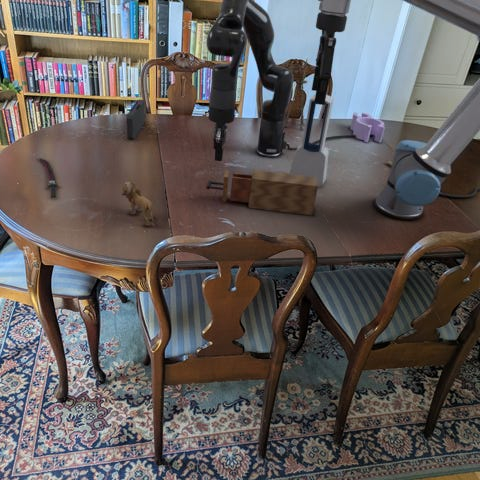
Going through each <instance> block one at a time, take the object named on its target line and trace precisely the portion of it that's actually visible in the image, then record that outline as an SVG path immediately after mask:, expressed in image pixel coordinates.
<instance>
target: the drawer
mask: <svg viewBox="0 0 480 480" xmlns="http://www.w3.org/2000/svg"><path fill="white" fill-rule="evenodd" d="M229 180H230V170H229V169H226V170H225V172H224V175H223V182H218V181H212V180H211V179H210V180H209V179H208V181H207V184H206V187H205V188H206V190H211V189H212V190H220V191H222V197H221V202H227V198H228V192H229V182H230V181H229ZM251 181H252V174H251V173H250V174H249V173H241V172H233V173H232V176H231V183H230V184H231V186H230V195H229V196H230V198H229V201H233V202H240V203H241V202H242V203H248V204H249V198H250V189H251ZM213 185H217V186H213ZM219 185H220V186H219Z"/></svg>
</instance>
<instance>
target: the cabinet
mask: <svg viewBox="0 0 480 480" xmlns="http://www.w3.org/2000/svg"><path fill="white" fill-rule="evenodd" d="M251 175H252V181H251V189H250V198H249V203H248V209H249V208H250V209H255V210H256V209H257V210H265V211H274V212H280V213H281V212H282V213H290V214H298V215H306V216H307V215H308V216H313V213H314V208H315V203H316V198H317V193H318V189H319V187H318V183H317V177H308V176H300V175H291V174H289V173H282V172H274V171H265V170H256V169H253V170H252V174H251Z"/></svg>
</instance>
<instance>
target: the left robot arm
mask: <svg viewBox="0 0 480 480" xmlns="http://www.w3.org/2000/svg"><path fill="white" fill-rule="evenodd" d="M218 13H219V14H218V17H217V18H216V20H215V22H214V23H213V25H212V26H211V27H210V29H209V31H208V33H207V35H206V43H205V44H206V49H207V50H208V52H209V53H210V54H211V55H213V56H218V57H226V58H227V57H228V58H231V60H230V61H229V62H226V63H219V64H215V65H214V66H213V67H212V68H211V69H212V70H211V81H210V82H211V83H210V91H209V101H208V117H207V118H208V120H209V121H211V122H212V123H214V126H213V127H212V133H213V150H214V161H216V162H222V161H223V155H224V153H223V152H224V148H225V143H226V140H227V133H228V130H229V125H228V124H231V123H233V122H234V121H235V116H236V115H235V114H236V104H237V81H238V72H239V68H240V65H241V61H242V59H243V57H244V54H245V51H246V48H247V43H248V44H249V47H250V50H251V52H252V55H253V58H254V61H255V64H256V67H257V72H258V77H259V80H260V83H261V86H262V87H263V88H264V89H266V90H267V91H269V92H271V93H273V95H272V99H266V100H263V102H262V105H261V114H260V123H259V131H258V138H257V139H258V140H257V148H256V153H257V154H258V155H259V156H262V157H264V158H265V157H266V158H277V157H279V156H281V155H282V154H283V150H286V149H288V150H290V151H296V150H297V148H298V147H290V146H291V145H290V143H288V142H287V141H286V140H285V136H286V130H284V128H285V127H284V125H285V122H286V117H287V116H286V115H287V109H288V107H289V104H290V101H291V96H292V91H293V86H294V74H293V73H294V72H293V71H292V70H291V69H289V68H286V67H284V66H280V65H278V64H276V62H275V59H274V56H273V54H272V48H273V45H274V41H275V29H274V27H273V23H272V20H271V17H270V15H269V14H268V12H267V11H266V9H264V7H262V6H261V5H259V4H258V3H257V2H256V1H255V0H222V1H221V4H220V8H219V12H218ZM242 29H243V30H242ZM373 137H374V135H372V134H370V136H369V138H373ZM340 138H356V135H353V134H345V135H343V134H342V135H333V136H326V140H331V139H340ZM326 140H325V141H326ZM319 141H320V139H317V140H315V141H312V142H311V143H312V144H315V145H317V144H319Z"/></svg>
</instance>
